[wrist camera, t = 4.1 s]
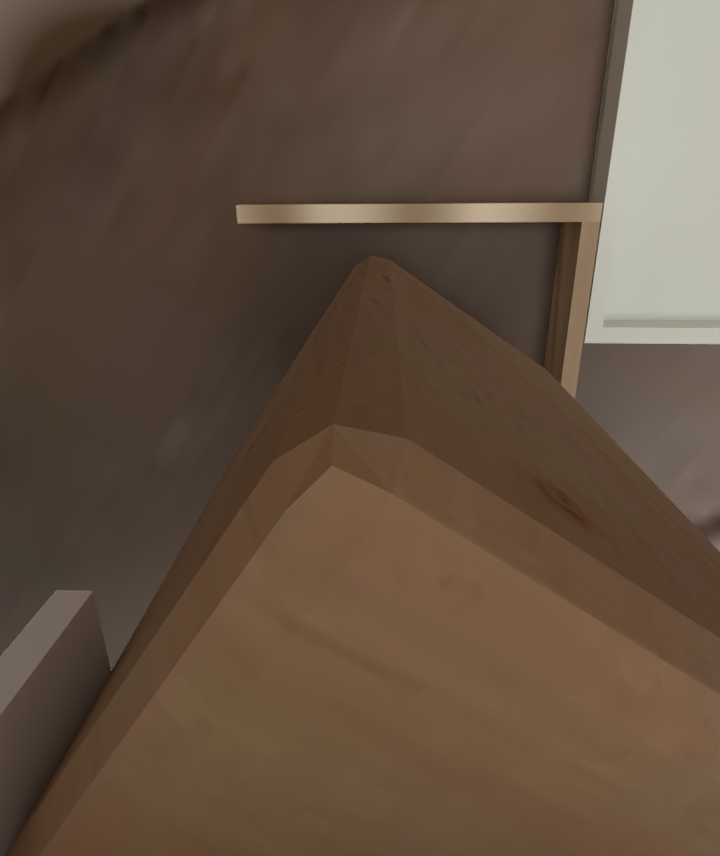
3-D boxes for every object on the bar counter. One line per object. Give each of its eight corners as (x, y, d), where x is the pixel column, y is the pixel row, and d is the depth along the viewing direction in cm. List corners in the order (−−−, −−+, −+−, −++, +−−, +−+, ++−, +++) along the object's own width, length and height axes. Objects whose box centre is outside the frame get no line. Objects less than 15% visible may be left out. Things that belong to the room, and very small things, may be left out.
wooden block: (368, 242, 23) (312, 423, 5) (558, 375, 25) (1062, 889, 6) (248, 430, 26) (-64, 972, 8) (423, 535, 28) (499, 1179, 10)
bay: (273, 487, 36) (261, 516, 33) (253, 204, 30) (235, 204, 26) (542, 493, 35) (557, 524, 32) (579, 202, 29) (603, 202, 25)
